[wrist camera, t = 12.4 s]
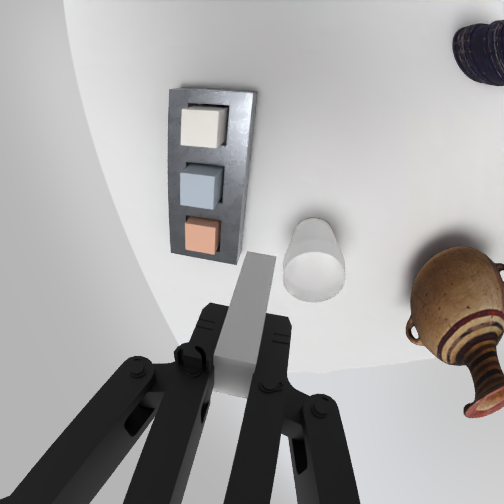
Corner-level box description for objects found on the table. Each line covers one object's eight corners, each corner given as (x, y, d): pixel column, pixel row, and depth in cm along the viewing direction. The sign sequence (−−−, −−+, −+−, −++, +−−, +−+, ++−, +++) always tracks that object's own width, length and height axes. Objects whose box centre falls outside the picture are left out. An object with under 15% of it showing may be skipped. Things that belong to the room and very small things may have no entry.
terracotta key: (195, 209, 50) (184, 223, 46) (223, 213, 50) (215, 228, 46) (195, 234, 53) (185, 249, 49) (222, 239, 52) (214, 254, 48)
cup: (285, 254, 53) (279, 299, 43) (289, 208, 48) (283, 247, 38) (335, 259, 52) (339, 305, 42) (343, 214, 47) (352, 254, 37)
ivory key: (194, 105, 39) (181, 109, 34) (228, 107, 38) (218, 111, 34) (193, 137, 41) (180, 145, 37) (225, 140, 41) (216, 148, 37)
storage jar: (507, 65, 26) (564, 74, 13) (478, 94, 31) (534, 110, 18) (472, 16, 23) (525, 6, 11) (440, 44, 28) (492, 38, 16)
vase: (483, 213, 41) (573, 332, 16) (485, 285, 49) (538, 399, 24) (383, 250, 49) (424, 403, 24) (400, 317, 57) (425, 447, 32)
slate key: (192, 162, 44) (180, 172, 39) (223, 166, 43) (214, 176, 39) (191, 192, 46) (180, 204, 42) (221, 196, 46) (213, 209, 42)
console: (180, 87, 40) (169, 89, 36) (257, 92, 39) (253, 93, 35) (178, 241, 55) (170, 252, 52) (241, 252, 54) (236, 264, 51)
